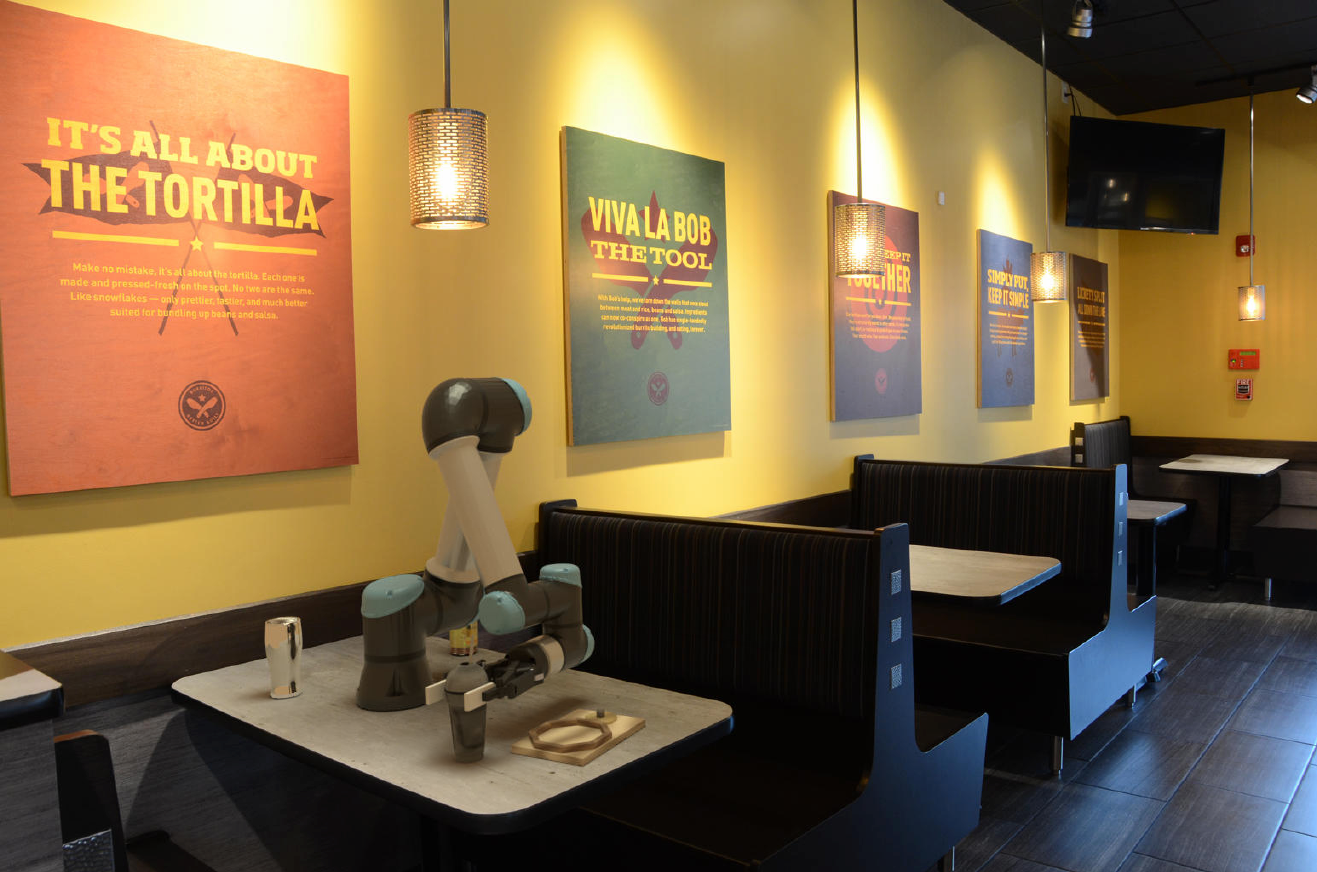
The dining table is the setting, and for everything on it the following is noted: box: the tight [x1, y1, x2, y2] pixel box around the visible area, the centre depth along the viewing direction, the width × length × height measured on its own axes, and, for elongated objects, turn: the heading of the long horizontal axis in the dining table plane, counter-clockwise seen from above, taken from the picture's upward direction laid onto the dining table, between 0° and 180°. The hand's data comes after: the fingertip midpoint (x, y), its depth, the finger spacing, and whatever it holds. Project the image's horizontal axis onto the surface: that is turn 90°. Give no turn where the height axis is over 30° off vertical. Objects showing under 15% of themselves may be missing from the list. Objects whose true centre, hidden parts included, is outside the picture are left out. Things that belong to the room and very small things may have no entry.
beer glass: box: [264, 616, 303, 695], centre depth 193 cm, size 7×7×15 cm
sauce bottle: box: [449, 620, 479, 655], centre depth 221 cm, size 6×6×20 cm
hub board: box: [510, 708, 646, 767], centre depth 164 cm, size 14×20×3 cm
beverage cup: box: [444, 635, 489, 764], centre depth 157 cm, size 7×7×20 cm
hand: (446, 699), depth 152 cm, fingers closed on beverage cup, 7 cm apart
